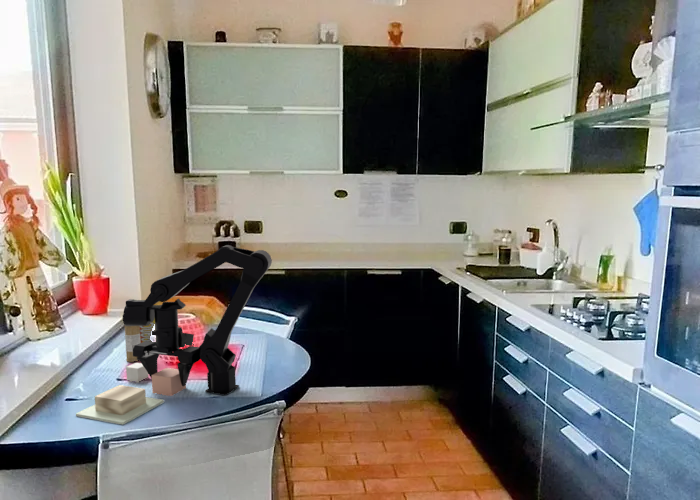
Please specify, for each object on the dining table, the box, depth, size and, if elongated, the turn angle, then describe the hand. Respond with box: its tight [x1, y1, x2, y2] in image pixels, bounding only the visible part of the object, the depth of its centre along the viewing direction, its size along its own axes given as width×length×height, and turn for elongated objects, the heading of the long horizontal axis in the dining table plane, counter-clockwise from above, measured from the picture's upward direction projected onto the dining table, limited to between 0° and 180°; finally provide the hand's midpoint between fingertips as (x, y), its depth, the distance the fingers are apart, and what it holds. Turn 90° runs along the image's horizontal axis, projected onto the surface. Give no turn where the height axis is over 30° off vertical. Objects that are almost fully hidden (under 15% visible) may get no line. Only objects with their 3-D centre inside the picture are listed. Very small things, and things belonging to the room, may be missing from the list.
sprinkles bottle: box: [123, 324, 141, 363], centre depth 172 cm, size 5×5×13 cm
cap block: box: [125, 362, 150, 383], centre depth 156 cm, size 4×4×4 cm
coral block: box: [151, 367, 187, 397], centre depth 148 cm, size 6×6×5 cm
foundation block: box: [94, 384, 147, 415], centre depth 136 cm, size 8×8×4 cm
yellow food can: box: [140, 318, 155, 343], centre depth 189 cm, size 9×9×12 cm
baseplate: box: [75, 396, 165, 426], centre depth 136 cm, size 14×14×1 cm
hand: (169, 383), depth 148 cm, fingers open, 9 cm apart
